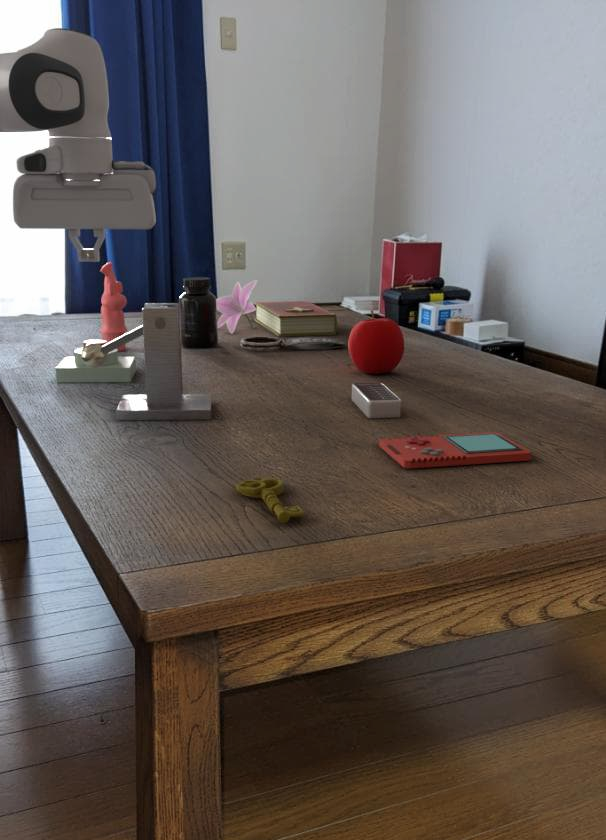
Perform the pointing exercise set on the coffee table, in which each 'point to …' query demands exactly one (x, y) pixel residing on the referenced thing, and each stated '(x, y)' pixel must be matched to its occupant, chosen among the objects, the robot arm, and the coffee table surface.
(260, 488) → the key
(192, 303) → the supplement bottle
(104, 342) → the button
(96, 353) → the lock lever
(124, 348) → the figurine
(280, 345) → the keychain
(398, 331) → the fruit
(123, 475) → the coffee table surface
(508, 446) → the handheld gaming console
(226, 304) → the lily
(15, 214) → the robot arm
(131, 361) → the box
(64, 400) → the coffee table surface
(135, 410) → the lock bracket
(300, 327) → the book
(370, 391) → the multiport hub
